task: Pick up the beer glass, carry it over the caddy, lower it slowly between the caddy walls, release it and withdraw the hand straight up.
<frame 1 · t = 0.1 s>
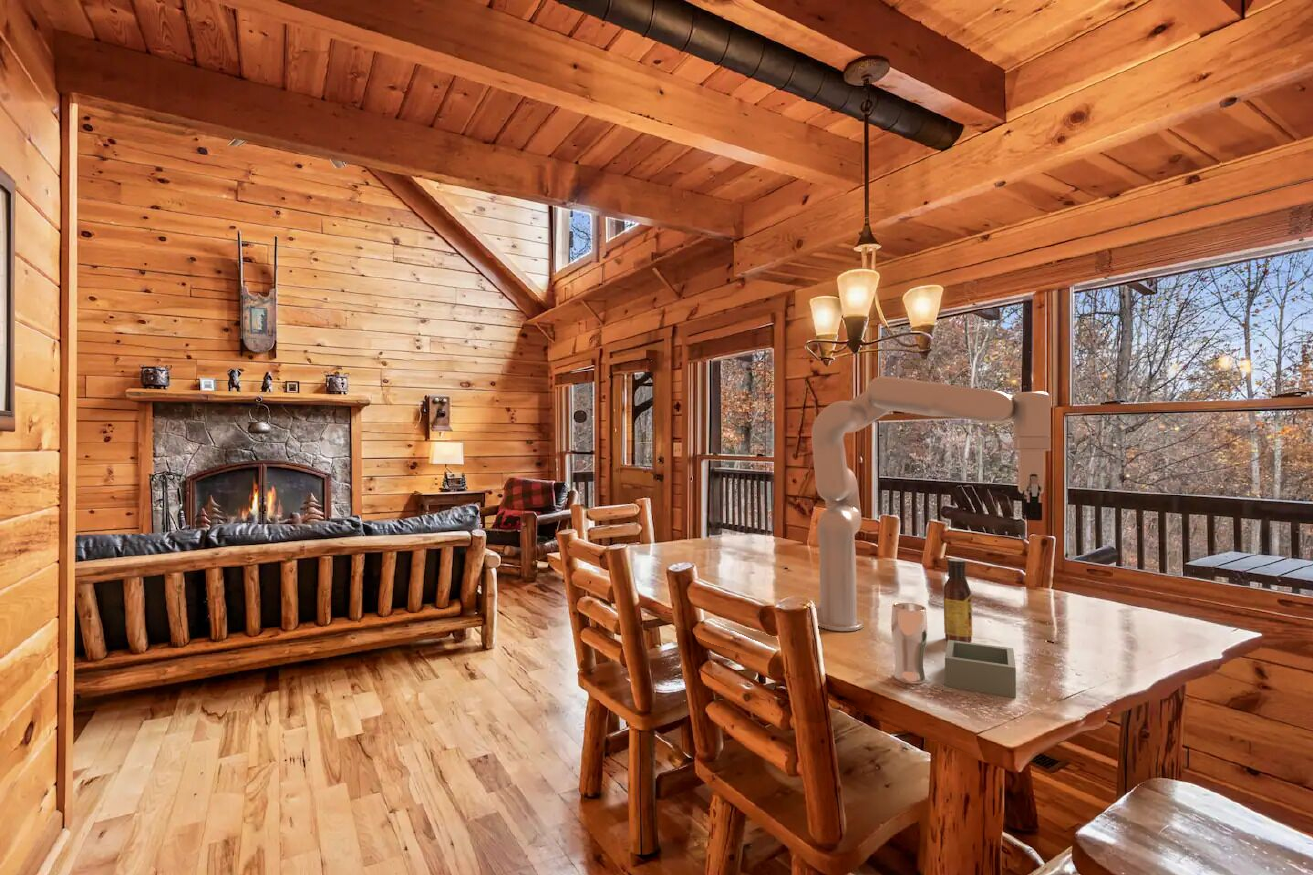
hand: (1032, 517, 146), 31 cm above the table, tool pointing down, fingers open, 9 cm apart
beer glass: (909, 679, 130), on the table
sauce bottle: (958, 641, 154), on the table
caddy: (979, 680, 128), on the table
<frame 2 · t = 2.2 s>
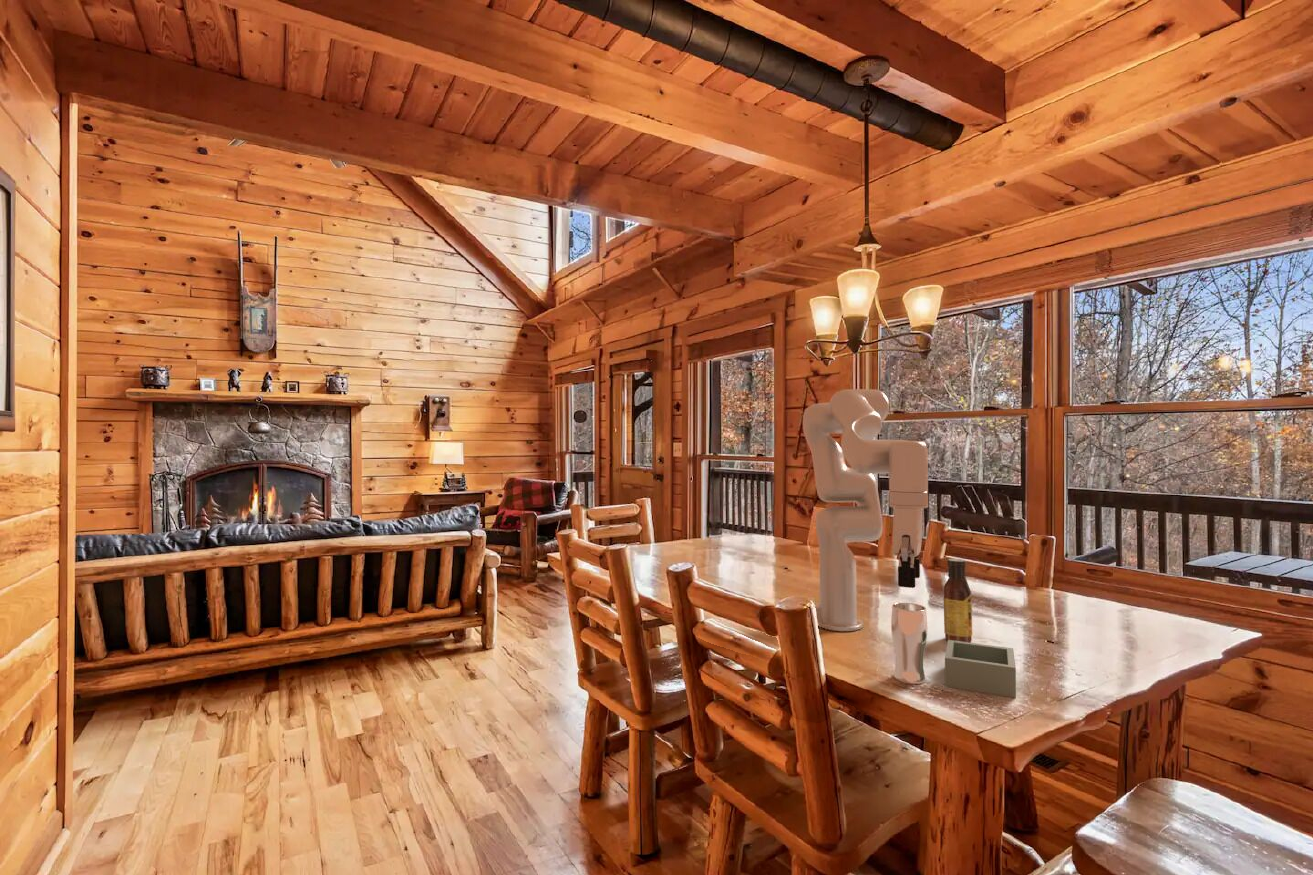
hand: (909, 581, 130), 20 cm above the table, tool pointing down, fingers open, 9 cm apart
nothing on the table moved.
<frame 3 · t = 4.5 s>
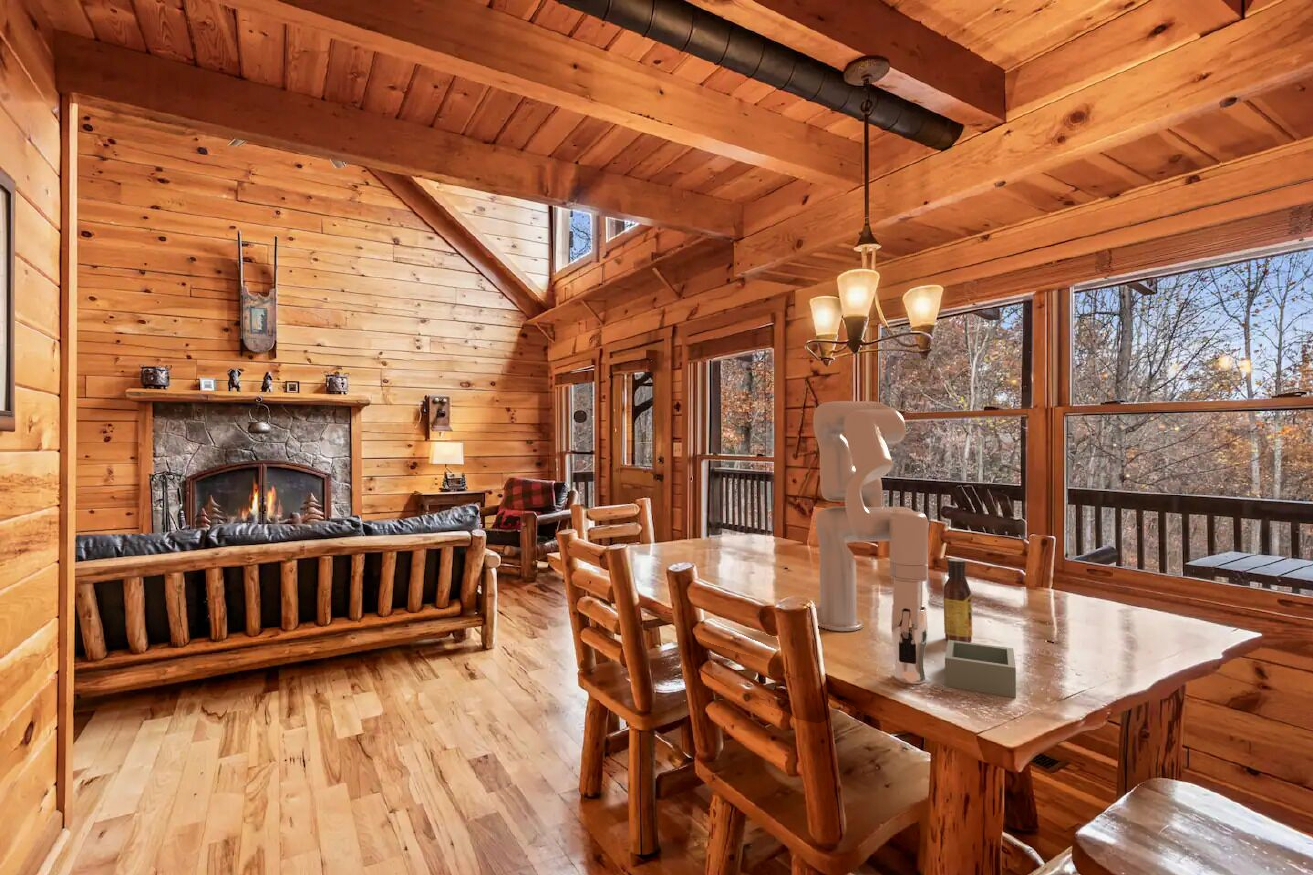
hand: (909, 656, 130), 5 cm above the table, tool pointing down, fingers closed on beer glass, 6 cm apart
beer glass: (909, 679, 130), on the table, touching gripper
everything else where it was.
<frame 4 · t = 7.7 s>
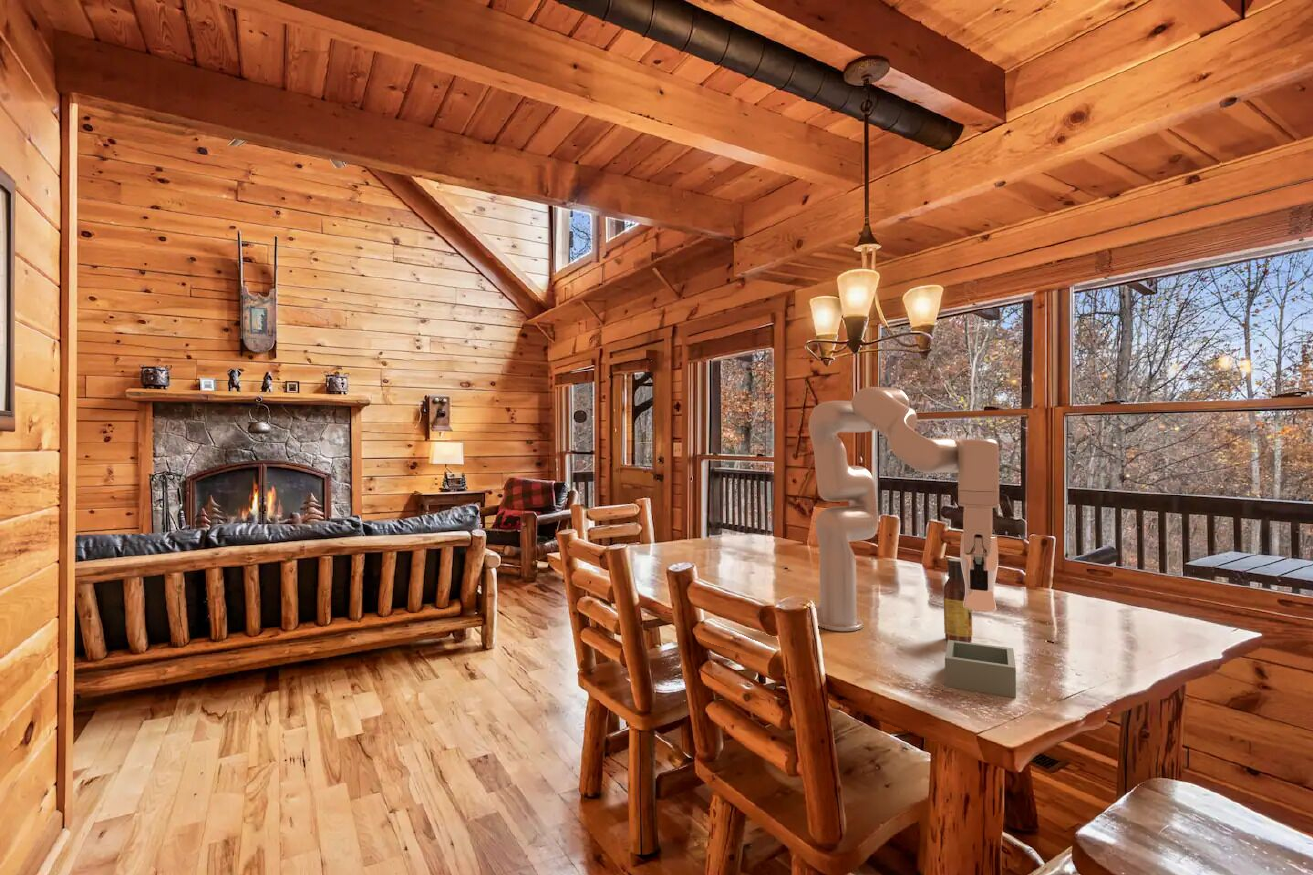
hand: (979, 585, 128), 20 cm above the table, tool pointing down, fingers closed on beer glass, 6 cm apart
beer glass: (979, 608, 128), point 15 cm above the table, touching gripper
everything else where it was.
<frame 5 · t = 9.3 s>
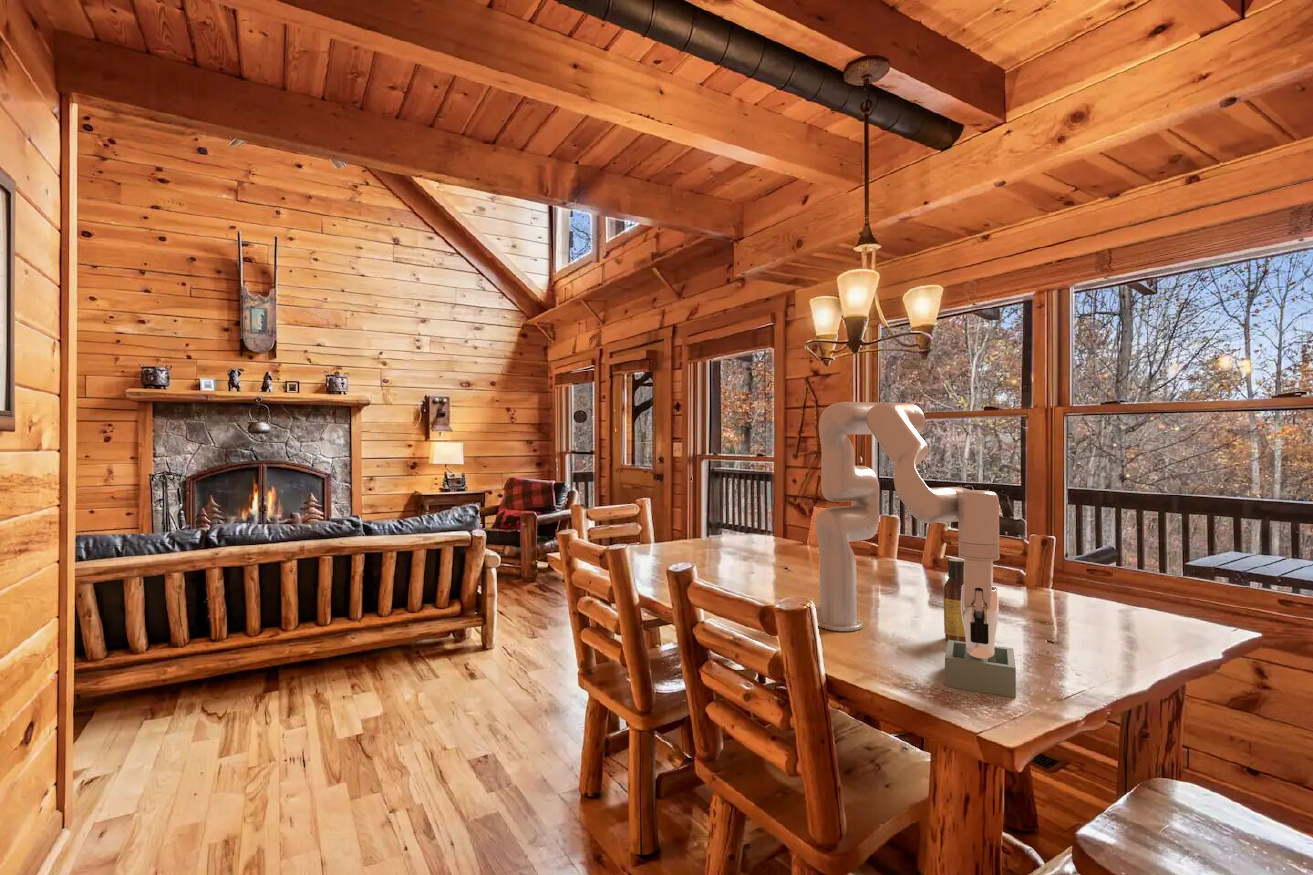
hand: (979, 636, 128), 9 cm above the table, tool pointing down, fingers closed on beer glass, 6 cm apart
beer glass: (980, 660, 128), point 4 cm above the table, touching gripper
everything else where it was.
when the fingers open (7 cm above the table, at t = 10.7 s): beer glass drops 1 cm, resting on caddy.
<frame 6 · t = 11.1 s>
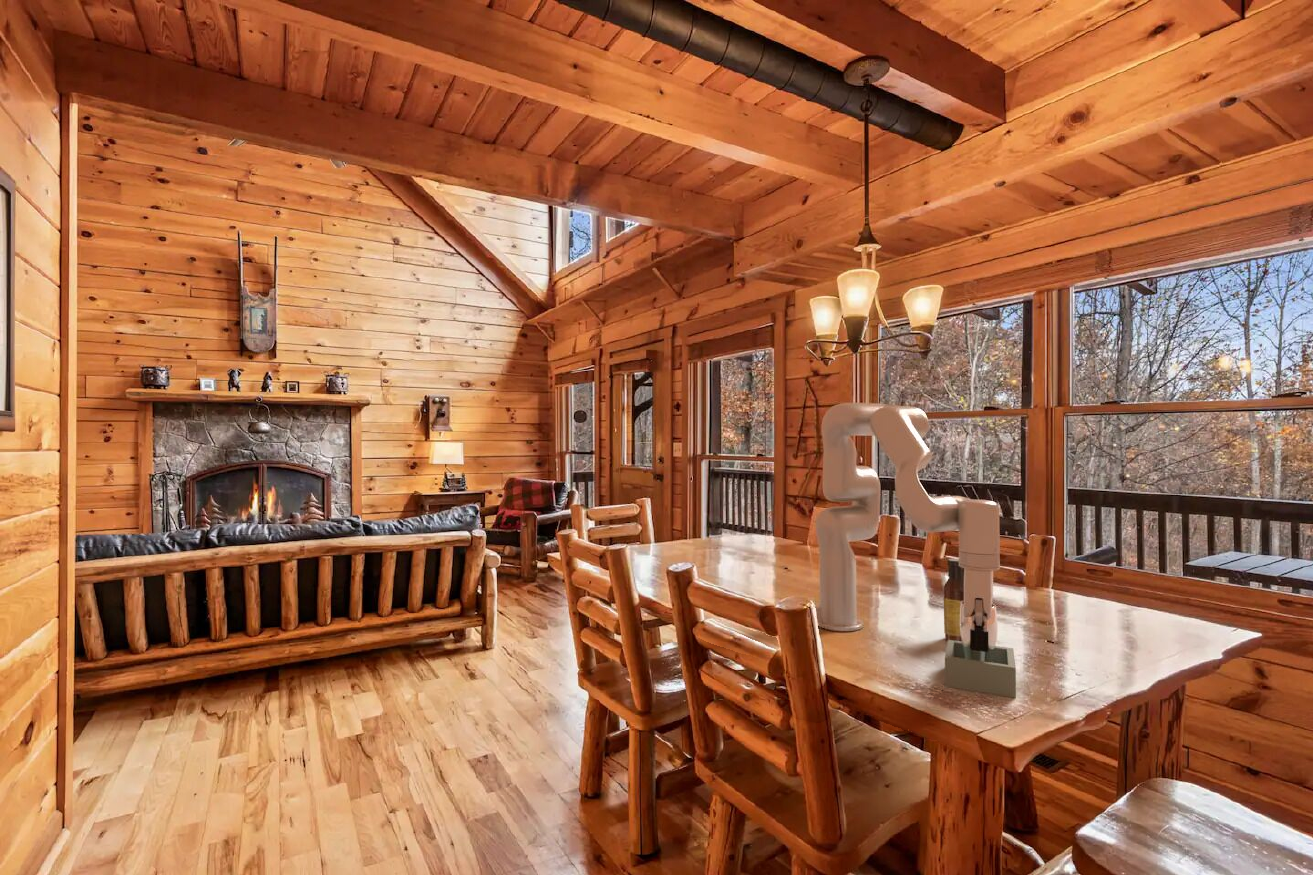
hand: (979, 643, 128), 8 cm above the table, tool pointing down, fingers open, 9 cm apart
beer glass: (978, 677, 129), point 1 cm above the table, touching caddy
everything else where it was.
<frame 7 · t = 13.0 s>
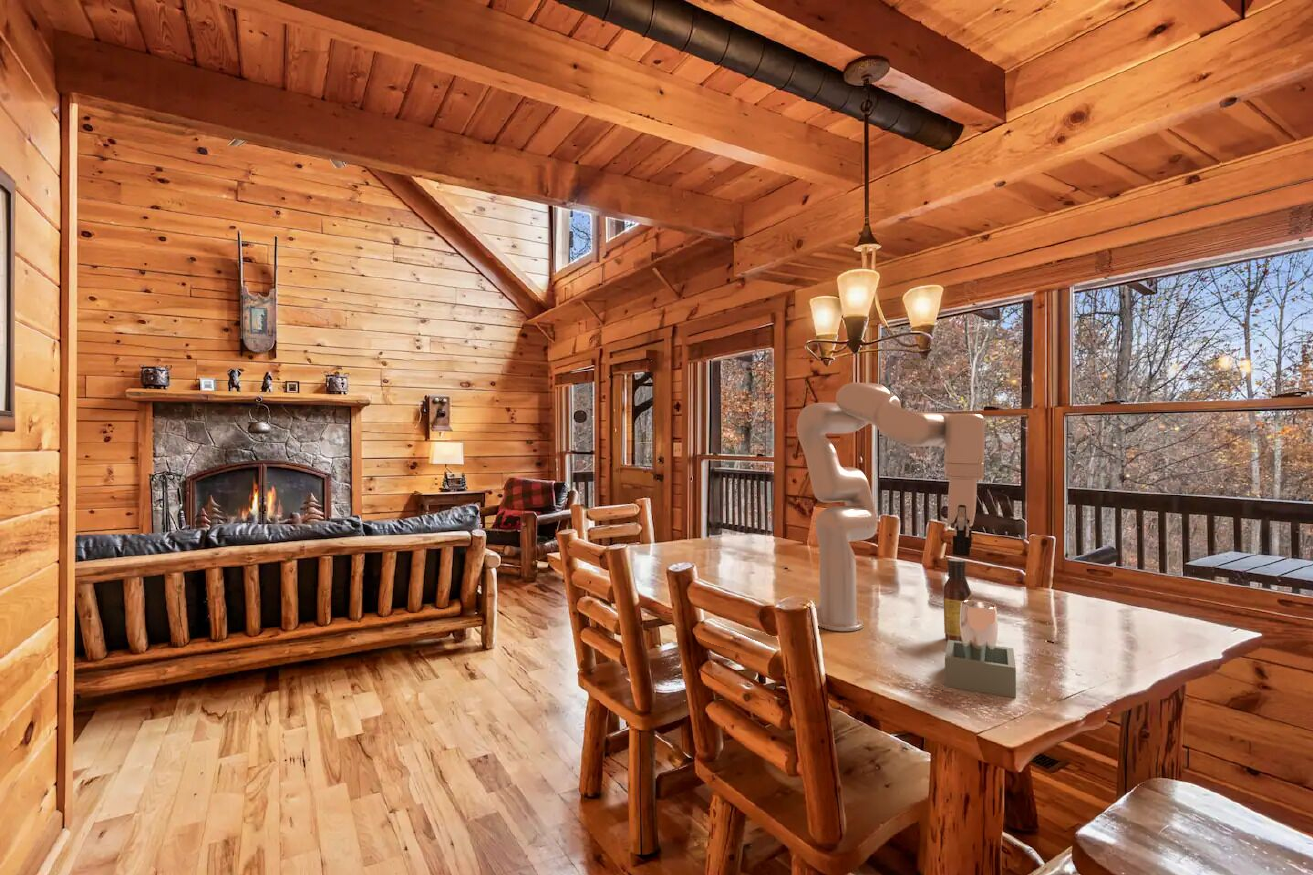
hand: (962, 551, 134), 26 cm above the table, tool pointing down, fingers open, 9 cm apart
nothing on the table moved.
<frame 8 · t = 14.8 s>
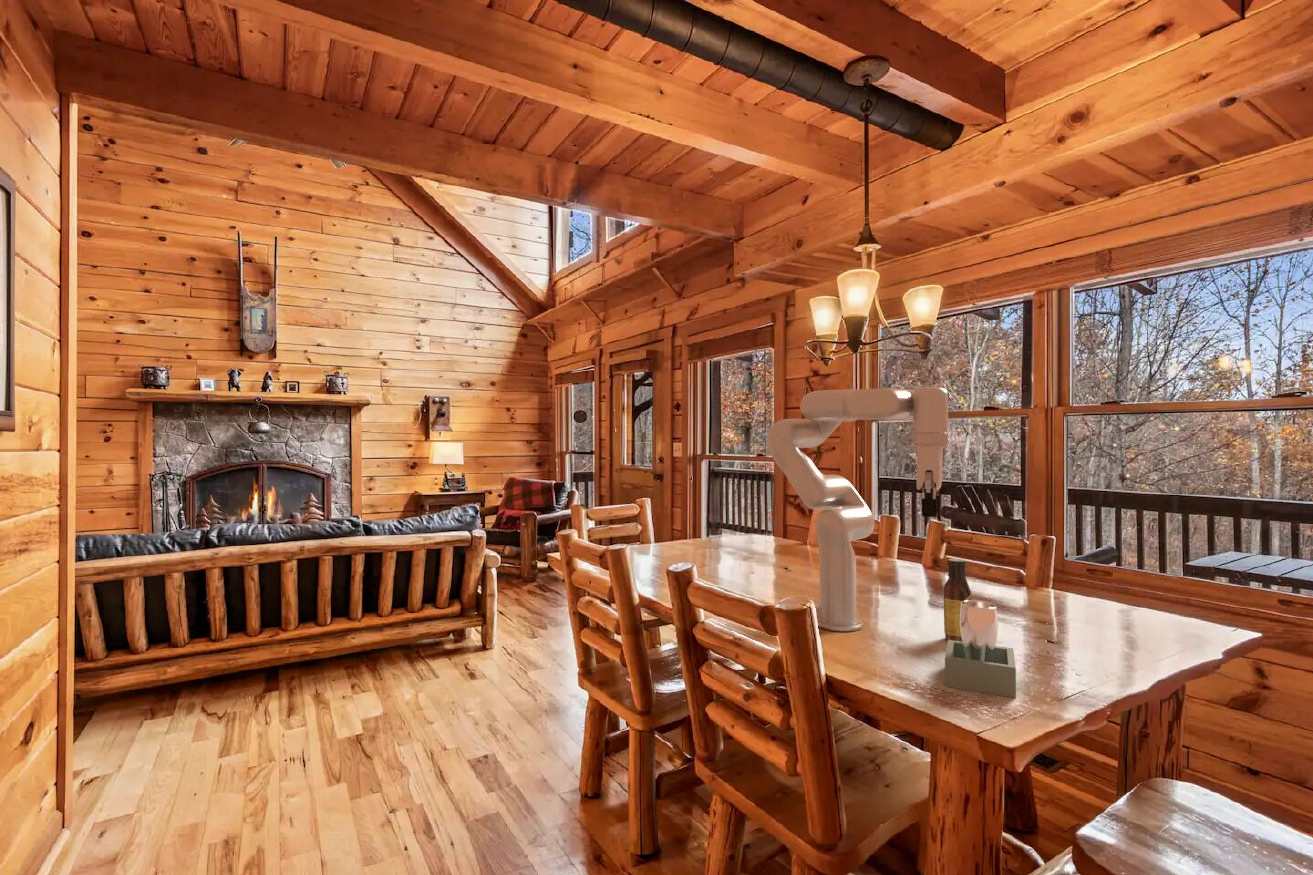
hand: (931, 514, 145), 32 cm above the table, tool pointing down, fingers open, 9 cm apart
nothing on the table moved.
at the end: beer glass inside the target area on the caddy (0.3 cm from its centre), point 0.6 cm above the caddy's base; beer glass tilted 0°; the gripper is holding nothing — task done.
